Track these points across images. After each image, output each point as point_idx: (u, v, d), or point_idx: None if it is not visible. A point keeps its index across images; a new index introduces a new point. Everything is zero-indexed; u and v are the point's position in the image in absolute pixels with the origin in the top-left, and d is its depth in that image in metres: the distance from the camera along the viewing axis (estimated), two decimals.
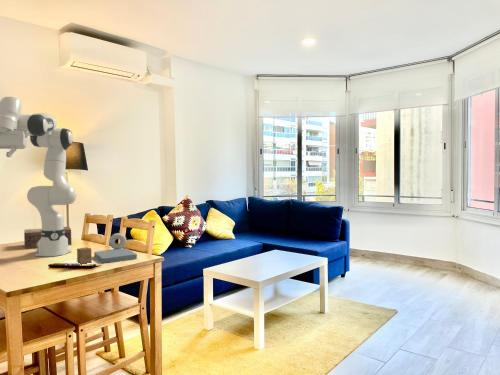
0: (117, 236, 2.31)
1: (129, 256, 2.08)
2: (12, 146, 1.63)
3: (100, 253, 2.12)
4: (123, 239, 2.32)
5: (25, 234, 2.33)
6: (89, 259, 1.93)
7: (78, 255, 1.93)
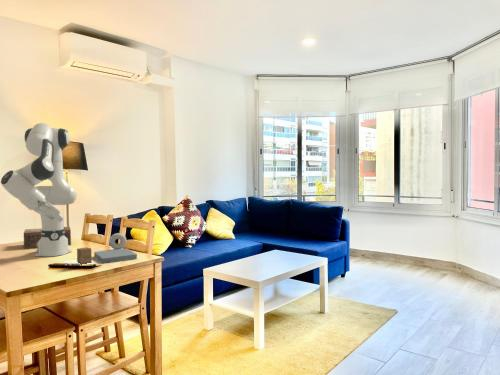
0: (117, 236, 2.31)
1: (129, 256, 2.08)
2: None
3: (100, 253, 2.12)
4: (123, 239, 2.32)
5: (24, 234, 2.33)
6: (89, 259, 1.93)
7: (78, 255, 1.93)
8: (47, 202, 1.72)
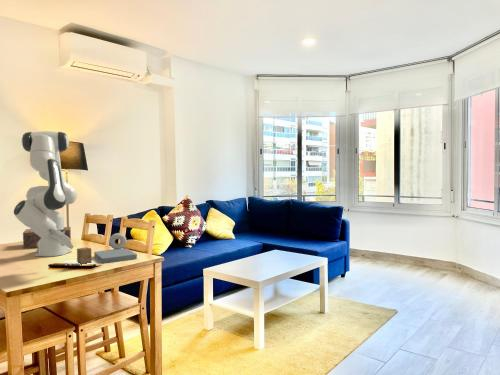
0: (117, 236, 2.31)
1: (129, 256, 2.08)
2: None
3: (100, 253, 2.12)
4: (123, 239, 2.32)
5: (24, 234, 2.34)
6: (89, 259, 1.93)
7: (78, 255, 1.93)
8: (58, 231, 1.76)
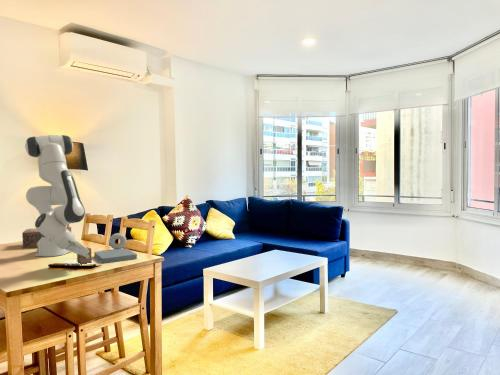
0: (117, 236, 2.31)
1: (129, 256, 2.08)
2: None
3: (100, 253, 2.12)
4: (123, 239, 2.32)
5: (23, 234, 2.34)
6: (89, 259, 1.93)
7: (78, 255, 1.93)
8: (77, 242, 1.83)
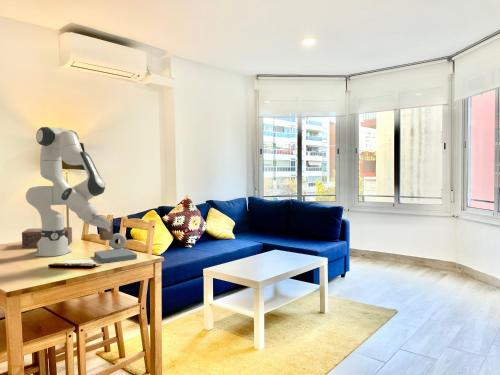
0: (117, 236, 2.31)
1: (129, 256, 2.08)
2: None
3: (100, 253, 2.12)
4: (123, 239, 2.32)
5: (23, 233, 2.35)
6: (110, 232, 2.06)
7: (100, 228, 2.05)
8: (100, 215, 1.95)
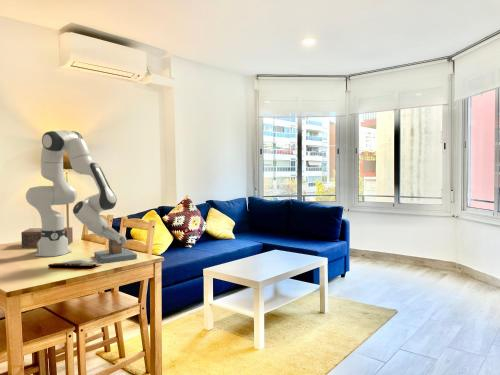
0: None
1: (129, 256, 2.08)
2: None
3: (100, 253, 2.12)
4: (123, 239, 2.32)
5: (22, 233, 2.35)
6: (120, 246, 2.12)
7: (110, 243, 2.11)
8: (111, 228, 2.01)
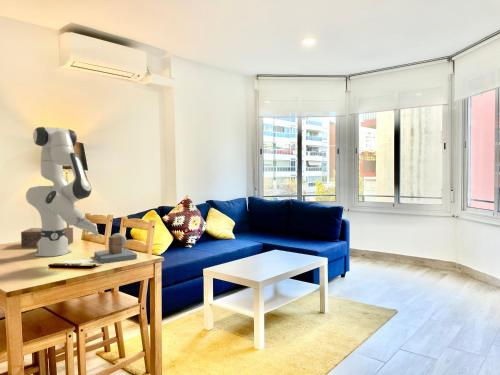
0: None
1: (129, 256, 2.08)
2: None
3: (100, 253, 2.12)
4: (123, 239, 2.32)
5: (22, 233, 2.36)
6: (120, 246, 2.12)
7: (110, 243, 2.11)
8: (86, 219, 1.91)
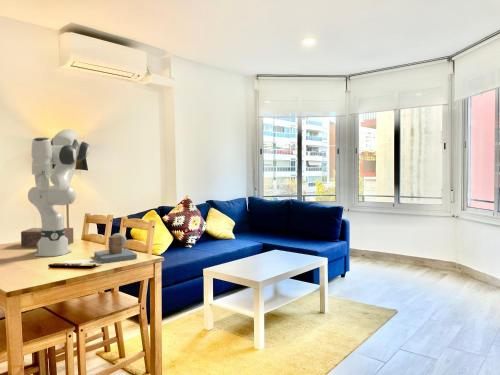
0: None
1: (129, 256, 2.08)
2: (41, 191, 1.83)
3: (100, 253, 2.12)
4: (123, 239, 2.32)
5: (22, 233, 2.37)
6: (120, 246, 2.12)
7: (110, 243, 2.11)
8: (47, 175, 1.81)
